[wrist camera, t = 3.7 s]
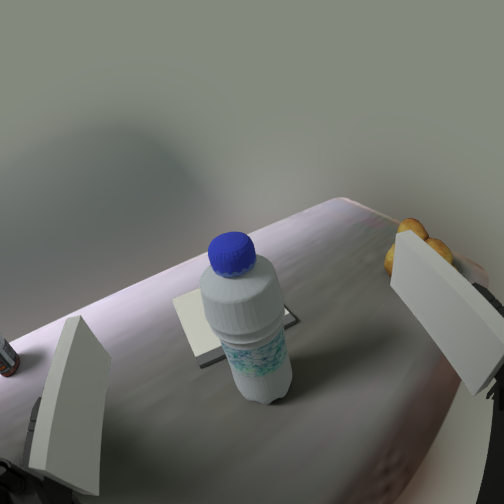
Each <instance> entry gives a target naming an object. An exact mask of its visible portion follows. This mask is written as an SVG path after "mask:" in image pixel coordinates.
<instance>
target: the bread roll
mask: <svg viewBox="0 0 504 504" xmlns="http://www.w3.org/2000/svg"><path fill="white" fill-rule="evenodd" d="M407 230H411V231H413V232H414V233H415V234H416V235H417V236H419V237H420V238H421V239H422V240H423V241H424V242H426V243H427V244H428V245H429V246H430V247H431V248H433V249H434V250H435V251H436V252H437V253H438V254H439V255H440V256H442V257H443V258H444V259H445V260H446V261H447V262H448V263H449V264H450V265H451V266H453V267H454V268H455V269H456V270H457V268H456V267H455V266H454V265H453V264H452V263H453V256H452V254H451V251H450V250H449V248H448V247H447V246H446V245H445V244H444V243H443V242H442V241H441V240H438V239H434V238H430V237H429V235H428V233H427V232H426V230H425V228H424V227H423V225H422V224H421V223H420V222H419V221H418V220H416V219H413V218H408V219H405V220H404V221H402V223H401V224H400V226H399V228H398V231H397V233H400V232H404V231H407ZM394 251H395V243H394V244H393V245H392V247H391V248H390V250H389V251H388V252H387V254H386V256H385V263H384V266H385V270H386V271H387V273H388V275H389V276H390V277H391V276H392V269H393V260H394ZM457 271H458V270H457Z"/></svg>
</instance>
